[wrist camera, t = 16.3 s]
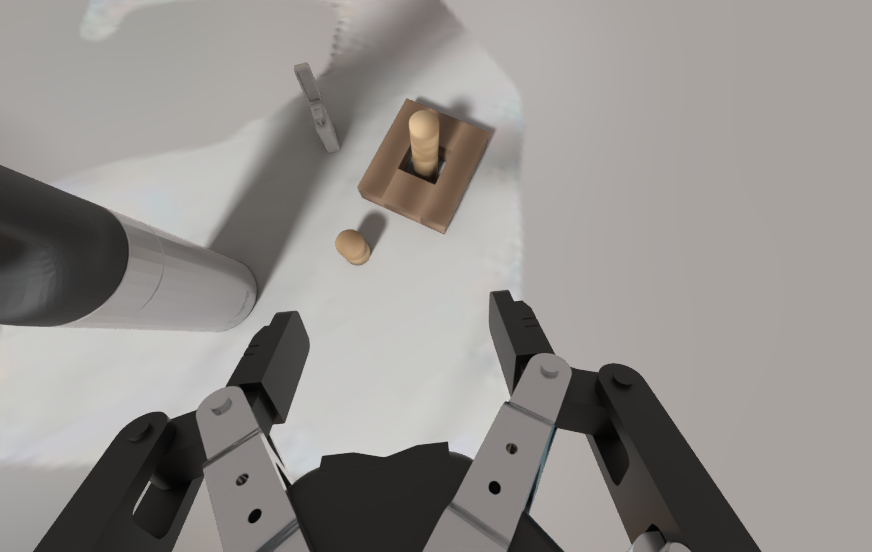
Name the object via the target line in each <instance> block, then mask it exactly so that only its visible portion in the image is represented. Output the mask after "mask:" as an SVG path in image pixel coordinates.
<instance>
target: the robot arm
mask: <svg viewBox="0 0 872 552" xmlns="http://www.w3.org/2000/svg"><path fill="white" fill-rule="evenodd" d="M256 296H257V286H256V281H255V278H254V276H253V274H252V273H251V271H250V270H249V269H248V268H247V267H246V266H245V265H243V264H242V263H240V262H238V261H236V260H234V259H231V258H229V257H226V256H224V255H221V254H219V253H217V252H214V251H212V250H209V249H207V248H204V247H202V246H199V245H197V244H194V243H192V242H189V241H187V240H184V239H182V238H179V237H177V236H174V235H172V234H169V233H167V232H164V231H162V230H159V229H157V228H154V227H152V226H149V225H147V224H144V223H142V222H139V221H137V220H134V219H132V218H129V217H127V216H124V215H122V214H119V213H117V212H114V211H112V210H109V209H107V208H104V207H102V206H99V205H97V204H94V203H92V202H89V201H87V200H84V199H82V198H79V197H77V196H74V195H72V194H69V193H67V192H64V191H62V190H60V189H57V188H55V187H52V186H50V185H47V184H45V183H43V182H40V181H38V180H35V179H33V178H31V177H28V176H26V175H23V174H21V173H18V172H16V171H14V170H11V169H9V168H6V167H4V166H1V165H0V324H3V325H14V326H38V327H69V328H106V329H137V330H168V331H197V332H220V331H225V330H228V329H230V328H233V327H235V326H236V325H238V324H239V323H241V322H242V321H243V320H244V319H245V318H246V317H247V316H248V314H249V313H250V311H251V310H252V308H253V306H254V303H255V300H256ZM489 328H490V333H491V336H492V339H493V342H494V346H495V349H496V352H497V355H498V358H499V362H500V365H501V368H502V371H503V374H504V377H505V381H506V384H507V387H508V390H509V393H510V396H511V398H510V400H509V402H504V403H503V405H502V407H501V408H500V410H499V412H498V414H497V416H496V418H495V420H494V422H493V424H492V426H491V428H490V430H489V432H488V433H487V435H486V437H485V439H484V441H483V443H482V445H481V447H480V449H479V451H478V453H477V455H476V457H475V459H474V460H473V459H471V458H469V457H467V456H465V455H463V454H459V453H456V452H451V451H449V448H448V442H441V443H432V444H423V445H416V446H414V447H411V448H409V449H406V450H403V451H401V452H398V453H395V454H393V455H390V456H387V457H378V456H372V455H366V454H360V453H354V452H353V453H344V454H335V455H326V456H322V459H321V464H320V467H319V468H316V469H314V470H312V471H310V472H308V473H307V474H305V475H304V476H302V477H301V478H299V479H298V480H297V481H296V482H294V481H293V480H292V478H291V476H290V474H289V472H288V470H287V468H286V466H285V464H284V462H283V459H282V457H281V455H280V453H279V451H278V449H277V447H276V445H275V443H274V440H273V438H272V436H271V435H270V430H271V428H272V425H273V424H283V423H285V421H286V418H287V415H288V412H289V409H290V406H291V403H292V400H293V397H294V394H295V392H296V389H297V386H298V383H299V380H300V377H301V374H302V371H303V368H304V365H305V362H306V359H307V356H308V353H309V348H310V343H309V338H308V335H307V332H306V330H305V327H304V325H303V322H302V320H301V317H300V315H299V313H298V312H297V311H287V312H278V313H276V314H275V315H274V317H273V319H272V321H271V323H270V325H269V326H264V327H263V328H262V329H261V330H260V331H259V332H257V333H256V334H255V335H254V337H253V338H252V340H251V342H250V344H249V346H248V348H247V349H246V351H245V353H244V356H243V357H242V358H241V360H240V362H239V363H238V365H237V367H236V369H235V371H234V372H233V374H232V376H231V378H230V379H229V381H228V383H227V385H226V387H225V388H222V389H219V390H217V391H215V392H214V393H212V394H210V395H209V396H208V397H207V398H206V399H204V401H203V402H202V403H201V404H200V405H199V407H198V409H197V410H195V411H192V412H190V413H187V414H184V415H181V416H178V417H176V418H173V419H170V418H169V417H168V416H167V415H166V414H165V413H163V412H151V413H148V414H145V415H143V416H140V417H138V418H137V419H135V420H133V421H132V422H130V423H129V424H128V425H126V426H125V427H124V428H123V429H122V430H121V431H120V432H119V433H118V435H117V436H116V437H115V439H114V440H113V441H112V443H111V444H110V446H109V447H108V448H107V450H106V451H105V452H104V454H103V455H102V457H101V458H100V459H99V461H98V462H97V464H96V465H95V466H94V468H93V469H92V471H91V472H90V473H89V475H88V476H87V477H86V479H85V480H84V482H83V483H82V484H81V486H80V487H79V489H78V490H77V491H76V493H75V494H74V496H73V497H72V498H71V500H70V501H69V502H68V504H67V505H66V507H65V508H64V509H63V511H62V512H61V514H60V515H59V516H58V518H57V519H56V521H55V522H54V524H53V525H52V526H51V528H50V529H49V530H48V532H47V533H46V535H45V536H44V537H43V539H42V540H41V541H40V543H39V544H38V546H37V547H36V548H35V550H34V551H33V552H172V550H173V548H174V545H175V543H176V541H177V538H178V536H179V534H180V531H181V529H182V527H183V525H184V522H185V520H186V517H187V515H188V513H189V511H190V509H191V506H192V504H193V502H194V499H195V497H196V495H197V492H198V490H199V488H200V486H201V483H202V481H203V479H204V476H205V480H206V484H207V488H208V492H209V496H210V500H211V504H212V508H213V512H214V516H215V519H216V523H217V528H218V531H219V536H220V540H221V543H222V547H223V551H224V552H564V551H563V550H562V549H561V548H560V547H559V546H558V545H557V544H556V543H555V541H554V540H553V539H552V538H551V537H550V536H549V535H548V534H547V533H546V532H545V531H544V530H543V529H542V528H541V527H540V526H539V525H538V524H537V523H536V522H535V521H534V519H533V518H532V517H531V516H530V515H529V513H530V509H531V507H532V504H533V501H534V498H535V495H536V492H537V489H538V485H539V482H540V479H541V476H542V473H543V469H544V466H545V463H546V461H547V458H548V455H549V452H550V449H551V446H552V443H553V440H554V437H555V434H556V431H557V428H560V429H565V430H569V431H574V432H579V433H584V434H585V435H586V437H587V439H588V442H589V444H590V446H591V449H592V451H593V453H594V456H595V458H596V461H597V463H598V466H599V468H600V470H601V473H602V475H603V477H604V480H605V482H606V484H607V487H608V489H609V492H610V494H611V496H612V499H613V501H614V503H615V506H616V508H617V511H618V513H619V515H620V518H621V520H622V523H623V525H624V527H625V530H626V532H627V535H628V537H629V539H630V542H631V544H632V546H631V547H630V548H629V550H628V551H627V552H761V550H760V549H759V547H758V546H757V544H756V543H755V541H754V540H753V539H752V537H751V536H750V534H749V533H748V531H747V530H746V528H745V527H744V525H743V524H742V522H741V521H740V519H739V518H738V516H737V515H736V514H735V512H734V511H733V509H732V508H731V506H730V505H729V503H728V502H727V500H726V499H725V498H724V496H723V495H722V493H721V491H720V490H719V488H718V487H717V486H716V484H715V483H714V481H713V480H712V478H711V477H710V475H709V474H708V472H707V471H706V469H705V468H704V466H703V465H702V464H701V462H700V461H699V459H698V458H697V457H696V455H695V453H694V452H693V450H692V449H691V447H690V446H689V444H688V443H687V441H686V440H685V438H684V437H683V435H682V434H681V433H680V432H679V430H678V428H677V427H676V425H675V424H674V422H673V421H672V419H671V418H670V416H669V415H668V413H667V412H666V411H665V409H664V408H663V406H662V405H661V403H660V402H659V400H658V399H657V398H656V396H655V394H654V393H653V392H652V390H651V389H650V387H649V386H648V384H647V383H646V381H645V380H644V378H643V377H642V376H641V375H640V374H639V373H638V372H637V371H635V370H633V369H632V368H630V367H628V366H625V365H621V364H615V363H612V364H607V365H604V366H603V367H601V368H600V370H599V373H598V372H591V371H585V370H579V369H575V368H572V367H570V366H569V364H568V363H567V362H566V361H565V360H564V359H562V358H561V357H559V356H557V355H555V353H554V351H553V349H552V347H551V346H550V344H549V342H548V340H547V338H546V336H545V334H544V332H543V330H542V328H541V326H540V324H539V322H538V320H537V319H536V316H535V314H534V312H533V311H532V309H531V307H529V306H528V305H527V304H526V303H524V302H523V301H514V300H513V298H512V296H511V294H510V292H509V290H503V291H493V292H490V300H489ZM148 481H150V482H151V484H150V486H149V488H148V490H147V491H146V493H145V495H144V497H143V498H142V500H141V502H140V504H139V506H138V508H137V509H136V511H135V513H134V515H133V510H134V507H135V505H136V503H137V501H138V499H139V497H140V496H141V494H142V492H143V490H144V489H145V487H146V485H147V483H148Z"/></svg>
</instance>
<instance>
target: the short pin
mask: <svg viewBox="0 0 872 552" xmlns="http://www.w3.org/2000/svg"><path fill="white" fill-rule="evenodd" d="M335 246H336V249H337V251H338V252H339V253H340V254H341V255H342V256H343V257H344V258H346V259H347V260H348V261H349V262H350V263H351V264H353V265H362V264H364V263H366V262H367V261H368V259H369V258H370V254H371V252H370V248H369V246H368V245H367V243H366V242H365V240H364V239H363V237H362V236H361V234H360V233H359V232H357V231H355V230H351V229H349V230H345V231H342V232H341V233H340V234H339V235H338V236H337V238H336V241H335Z"/></svg>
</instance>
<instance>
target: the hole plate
mask: <svg viewBox="0 0 872 552" xmlns="http://www.w3.org/2000/svg"><path fill="white" fill-rule="evenodd" d="M420 110H428V111H431V112H433V113H434V114H435V115H436V116H437V117H438V119H439V147H438V158H439V159H441V160H444V161H446V164H445V166H444V168H443V170H442V172H441V174H440V176H439V178H438V180H437V182H436V184H435V185H434V184H432V183H429V182H427V181H425V180H423V179H420V178H418V177H416V176H413V175H411V174H409V173H406V172H405V170H406V168H407V166H408V164H409V162H410V160H411V158H412V149H411V139H410V129H409V120H410V118H411V116H412V115H413V114H414V113H415V112H417V111H420ZM489 135H490V133H488V132H486V131H484V130H481V129H479V128H476V127H474V126H472V125H469V124H467V123H464V122H462V121H460V120H457V119H455V118H452V117H450V116H448V115H445V114H443V113H441V112H438V111H436V110H433V109H431V108H429V107H426V106H424V105H421V104H419V103H417V102H414V101H412V100H409V99H407V98H406V100H405V102H404V104H403V106H402V107H401V109H400V111H399V113H398V115H397V116H396V118H395V120H394V122H393V124H392V125H391V127H390V129H389V131H388V133H387V135H386V136H385V138H384V140H383V142H382V144H381V145H380V147H379V149H378V151H377V153H376V154H375V156H374V158H373V160H372V162H371V163H370V165H369V167H368V169H367V171H366V172H365V174H364V176H363V178H362V180H361V181H360V183H359V185H358V187H357V188H358V190H359V192H360V194H361V196H362V198H364V199H366V200H369V201H371V202H373V203H375V204H377V205H380V206H382V207H384V208H386V209H389V210H391V211H393V212H395V213H398V214H400V215H402V216H404V217H407V218H409V219H411V220H413V221H416V222H418V223H420V224H422V225H425V226H427V227H429V228H431V229H433V230H436V231H438V232H440V233H442V234H445V232H446V230H447V228H448V225H449V223H450V221H451V219H452V217H453V215H454V213H455V211H456V209H457V207H458V205H459V203H460V200H461V198H462V196H463V194H464V192H465V190H466V188H467V186H468V184H469V182H470V180H471V178H472V175H473V173H474V171H475V169H476V167H477V165H478V163H479V161H480V159H481V157H482V155H483V153H484V150H485V148H486V146H487V142H488V139H489Z"/></svg>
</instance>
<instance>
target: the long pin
mask: <svg viewBox="0 0 872 552" xmlns="http://www.w3.org/2000/svg"><path fill="white" fill-rule="evenodd" d="M409 129H410V139H411V149H412V158H413V168H414V175H415V176H416V177H418V178H420V179H423V180H425V181H427V182H429V183H430V182H432V181H433V180H435V178H436V177H437V173H438V147H439V119H438V117H437V116H436V115H435V114H434V113H433V112H431V111H428V110H420V111H417V112H415V113H414V114H413V115H412V116H411V118H410V120H409Z"/></svg>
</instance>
